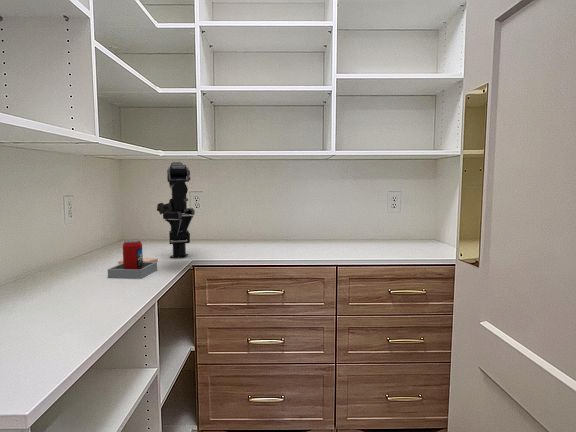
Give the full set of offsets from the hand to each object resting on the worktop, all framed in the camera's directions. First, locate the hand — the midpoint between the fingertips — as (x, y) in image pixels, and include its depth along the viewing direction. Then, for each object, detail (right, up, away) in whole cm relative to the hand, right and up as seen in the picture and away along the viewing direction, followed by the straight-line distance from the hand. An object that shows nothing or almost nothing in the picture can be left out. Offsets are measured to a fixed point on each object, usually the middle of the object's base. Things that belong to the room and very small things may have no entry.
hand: (180, 234), depth 150 cm
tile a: (-25, -12, +8) cm, 28 cm away
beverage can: (-14, -14, -11) cm, 23 cm away
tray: (-14, -14, -11) cm, 23 cm away
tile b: (-16, -12, +8) cm, 22 cm away
